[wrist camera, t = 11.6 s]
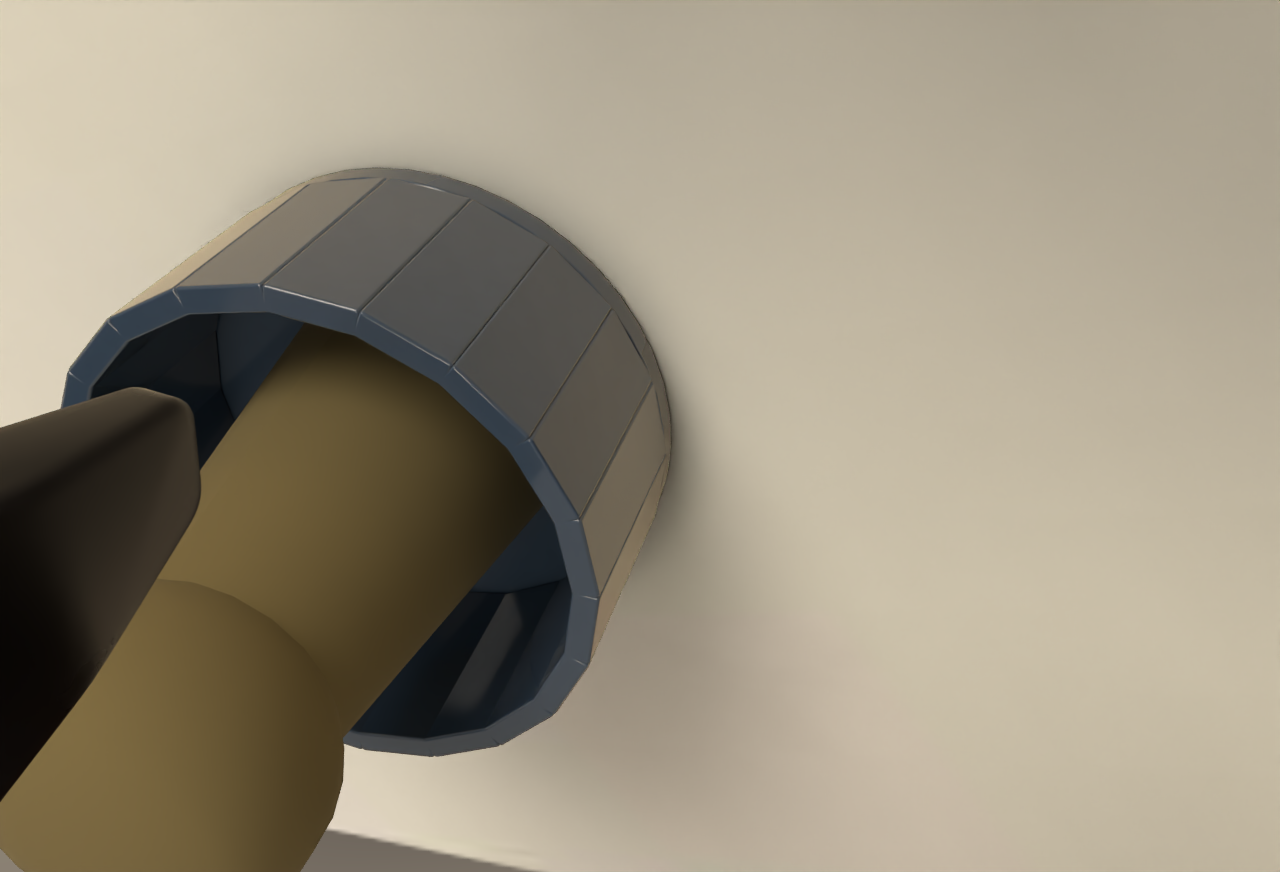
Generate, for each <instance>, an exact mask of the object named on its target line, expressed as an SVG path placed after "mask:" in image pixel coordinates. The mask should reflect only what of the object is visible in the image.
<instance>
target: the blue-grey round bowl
mask: <svg viewBox="0 0 1280 872" xmlns="http://www.w3.org/2000/svg"><path fill="white" fill-rule="evenodd" d="M304 323H308V324H312V325H316V326H319V327H323V328H327V329H330V330H334V331H337V332H341V333H345V334H348V335H352V336H355V337H357V338H359V339H360V340H362V341H364V342H366V343H367V344H369V345H371V346H373V347H374V348H376V349H378V350H380V351H381V352H383V353H385V354H387V355H388V356H390V357H392V358H394V359H395V360H397V361H399V362H401V363H402V364H404V365H406V366H408V367H409V368H411V369H413V370H415V371H416V372H418V373H420V374H422V375H423V376H425V377H427V378H429V379H430V380H432V381H434V382H436V383H437V384H439V385H440V386H441V387H442V388H443V389H444V390H445V391H446V392H447V393H449V394H450V395H451V396H452V397H453V398H454V399H455V400H456V401H457V402H458V403H459V404H460V405H461V406H462V407H463V408H464V409H465V410H467V411H468V412H469V413H470V414H471V415H472V416H473V417H474V418H475V419H476V420H477V421H478V422H479V423H480V424H481V425H482V426H483V427H484V428H486V429H487V430H488V431H489V432H490V433H491V434H492V435H493V436H494V437H495V438H496V439H497V440H498V441H499V442H500V443H501V444H502V445H504V446H505V447H506V448H507V449H508V450H509V452H510V454H511V455H512V457H513V458H514V460H515V462H516V463H517V465H518V466H519V468H520V470H521V471H522V473H523V474H524V476H525V478H526V479H527V481H528V482H529V484H530V486H531V487H532V489H533V490H534V492H535V494H536V495H537V497H538V498H539V500H540V502H541V503H542V505H543V506H542V507H541V508H540V510H539V511H538V512H537V513H536V514H535V515H534V517H533V518H532V519H531V520H530V521H529V522H528V524H527V525H526V526H525V527H524V528H523V529H522V530H521V532H520V533H519V534H518V535H517V536H516V537H515V539H514V540H513V541H512V542H511V543H510V544H509V546H508V547H507V548H506V549H505V550H504V551H503V553H502V554H501V555H500V556H499V557H498V558H497V560H496V561H495V562H494V563H493V564H492V565H491V567H490V568H489V569H488V570H487V571H486V572H485V574H484V575H483V576H482V577H481V578H480V579H479V581H478V582H477V583H476V584H475V585H474V586H473V587H472V589H471V590H470V591H469V592H468V593H467V594H466V596H465V597H464V598H463V599H462V600H461V601H460V603H459V604H458V605H457V606H456V607H455V608H454V610H453V611H452V612H451V613H450V614H449V615H448V617H447V618H446V619H445V620H444V621H443V622H442V624H441V625H440V626H439V627H438V628H437V629H436V631H435V632H434V633H433V634H432V635H431V636H430V638H429V639H428V640H427V641H426V642H425V643H424V644H423V646H422V647H421V648H420V649H419V650H418V651H417V653H416V654H415V655H414V656H413V657H412V658H411V660H410V661H409V662H408V663H407V664H406V665H405V667H404V668H403V669H402V670H401V671H400V672H399V674H398V675H397V676H396V677H395V678H394V679H393V681H392V682H391V683H390V684H389V685H388V686H387V688H386V689H385V690H384V691H383V692H382V693H381V695H380V696H379V697H378V698H377V699H376V700H375V701H374V703H373V704H372V705H371V706H370V707H369V708H368V710H367V711H366V712H365V713H364V714H363V715H362V717H361V718H360V719H359V720H358V721H357V722H356V724H355V725H354V726H353V727H352V728H351V729H350V731H349V732H348V733H347V734H346V735H345V736H344V738H343V743H344V744H347V745H350V746H353V747H356V748H359V749H362V748H363V749H364V750H370V751H380V752H390V753H400V754H409V755H419V756H429V757H433V756H436V757H438V756H444V755H450V754H456V753H461V752H467V751H473V750H479V749H485V748H491V747H497V746H499V745H503V744H504V743H506V742H508V741H510V740H511V739H513V738H515V737H517V736H518V735H520V734H522V733H524V732H525V731H527V730H529V729H531V728H532V727H534V726H536V725H538V724H539V723H541V722H543V721H545V720H546V719H548V718H550V717H551V716H553V715H554V714H555V713H556V712H557V711H558V710H559V708H560V707H561V705H562V704H563V702H564V701H565V700H566V698H567V697H568V695H569V694H570V692H571V691H572V690H573V688H574V687H575V685H576V684H577V682H578V681H579V680H580V678H581V677H582V675H583V674H584V672H585V671H586V670H587V668H588V667H589V665H590V663H591V660H592V658H593V656H594V654H595V651H596V649H597V647H598V645H599V642H600V640H601V638H602V635H603V633H604V631H605V629H606V626H607V624H608V622H609V620H610V617H611V615H612V613H613V611H614V608H615V606H616V604H617V602H618V599H619V597H620V595H621V593H622V590H623V588H624V586H625V583H626V581H627V579H628V577H629V574H630V572H631V570H632V568H633V565H634V563H635V561H636V559H637V556H638V554H639V552H640V550H641V547H642V545H643V543H644V541H645V538H646V536H647V534H648V531H649V529H650V527H651V525H652V522H653V520H654V517H655V515H656V511H657V505H658V501H659V499H660V497H661V495H662V492H663V488H664V484H665V481H666V477H667V473H668V469H669V460H670V451H671V426H670V412H669V407H668V402H667V397H666V392H665V387H664V383H663V380H662V377H661V374H660V371H659V368H658V365H657V362H656V360H655V357H654V354H653V352H652V350H651V348H650V346H649V344H648V342H647V339H646V337H645V335H644V333H643V331H642V329H641V327H640V325H639V323H638V322H637V320H636V319H635V317H634V316H633V314H632V313H631V311H630V310H629V308H628V307H627V305H626V304H625V302H624V301H623V299H622V298H621V296H620V295H619V293H618V292H617V291H616V290H615V289H614V287H613V286H612V285H611V284H610V283H609V281H608V280H607V279H606V278H605V277H604V276H603V274H602V273H601V272H600V271H599V270H598V268H597V267H596V266H595V265H594V264H593V263H592V262H591V261H589V260H588V259H587V258H586V257H585V256H584V255H583V254H582V253H581V252H580V251H579V250H578V249H577V248H576V247H575V246H574V245H573V244H572V243H571V242H569V241H568V240H567V239H565V238H564V237H563V236H561V235H560V234H559V233H557V232H556V231H555V230H553V229H552V228H551V227H550V226H548V225H547V224H546V223H544V222H543V221H542V220H540V219H538V218H537V217H535V216H533V215H532V214H530V213H528V212H527V211H525V210H523V209H522V208H520V207H518V206H517V205H515V204H513V203H512V202H510V201H508V200H506V199H503V198H501V197H499V196H497V195H495V194H492V193H490V192H488V191H486V190H483V189H481V188H479V187H477V186H474V185H471V184H468V183H464V182H461V181H458V180H455V179H452V178H449V177H445V176H442V175H436V174H431V173H426V172H420V171H415V170H409V169H391V168H366V169H355V170H344V171H340V172H336V173H332V174H328V175H324V176H320V177H316V178H313V179H311V180H308V181H306V182H304V183H301V184H299V185H297V186H294V187H292V188H290V189H288V190H287V191H285V192H283V193H282V194H280V195H279V196H277V197H276V198H274V199H273V200H271V201H270V202H268V203H267V204H265V205H263V206H261V207H259V208H257V209H255V210H253V211H251V212H249V213H248V214H247V215H245V216H244V217H243V218H241V219H240V220H239V221H237V222H236V223H235V224H233V225H232V226H231V227H229V228H228V229H227V230H225V231H224V232H223V233H221V234H220V235H219V236H217V237H216V238H215V239H213V240H212V241H211V242H209V243H208V244H207V245H205V246H204V247H203V248H201V249H200V250H198V251H197V252H196V253H194V254H193V255H192V256H190V257H189V258H188V259H186V260H185V261H184V262H182V263H181V264H180V265H178V266H177V267H176V268H174V269H173V270H172V271H170V272H169V273H168V274H166V275H165V276H164V277H162V278H161V279H160V280H158V281H157V282H156V283H154V284H153V285H152V286H150V287H149V288H148V289H146V290H145V291H143V292H142V293H141V294H139V295H138V296H137V297H135V298H134V299H133V300H131V301H130V302H129V303H127V304H126V305H125V306H123V307H122V308H121V309H119V310H118V311H117V312H115V313H114V314H113V315H111V316H110V317H109V318H108V319H106V321H105V322H104V323H103V325H102V326H101V327H100V328H99V330H98V331H97V332H96V334H95V335H94V336H93V338H92V339H91V340H90V341H89V343H88V344H87V345H86V347H85V348H84V349H83V351H82V352H81V353H80V355H79V356H78V357H77V358H76V360H75V361H74V362H73V364H72V365H71V366H70V368H69V371H68V373H67V377H66V382H65V388H64V393H63V399H62V404H61V409H62V408H65V407H68V406H72V405H75V404H78V403H81V402H84V401H88V400H91V399H94V398H97V397H100V396H103V395H107V394H110V393H113V392H116V391H119V390H122V389H126V388H130V387H140V388H146V389H149V390H153V391H156V392H160V393H163V394H166V395H170V396H173V397H177V398H180V399H182V400H183V401H184V402H186V403H187V404H188V405H189V406H190V408H191V410H192V412H193V416H194V421H195V430H196V439H197V448H198V458H199V467H200V470H201V468H202V467H203V466H204V464H205V463H206V461H207V460H208V459H209V457H210V456H211V454H212V453H213V451H214V450H215V449H216V447H217V446H218V444H219V443H220V442H221V440H222V439H223V437H224V436H225V435H226V433H227V432H228V430H229V429H230V427H231V426H232V425H233V423H234V422H235V420H236V419H237V418H238V416H239V415H240V413H241V412H242V410H243V409H244V408H245V406H246V405H247V403H248V402H249V401H250V399H251V398H252V396H253V395H254V394H255V392H256V391H257V389H258V388H259V386H260V385H261V384H262V382H263V381H264V379H265V378H266V377H267V375H268V374H269V372H270V371H271V370H272V368H273V367H274V365H275V364H276V362H277V361H278V360H279V358H280V357H281V355H282V354H283V353H284V351H285V350H286V348H287V347H288V346H289V344H290V343H291V341H292V340H293V338H294V337H295V336H296V334H297V333H298V331H299V330H300V329H301V327H302V326H303V324H304Z"/></svg>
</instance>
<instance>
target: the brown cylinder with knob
mask: <svg viewBox="0 0 1280 872" xmlns="http://www.w3.org/2000/svg"><path fill="white" fill-rule="evenodd" d="M200 476H201V497H200V502H199V506H198V509H197V511H196V514H195V516H194V518H193V520H192V522H191V524H190V525H189V527H188V529H187V530H186V532H185V533H184V535H183V537H182V538H181V540H180V542H179V543H178V545H177V546H176V548H175V550H174V551H173V553H172V555H171V556H170V558H169V560H168V561H167V563H166V564H165V566H164V568H163V569H162V571H161V573H160V574H159V576H158V577H157V579H156V581H155V582H154V584H153V586H152V587H151V589H150V590H149V592H148V594H147V595H146V597H145V599H144V600H143V602H142V604H141V605H140V607H139V608H138V610H137V612H136V613H135V615H134V617H133V618H132V620H131V621H130V623H129V625H128V626H127V628H126V630H125V631H124V633H123V634H122V636H121V638H120V639H119V641H118V643H117V644H116V646H115V648H114V649H113V651H112V652H111V654H110V656H109V657H108V659H107V660H106V662H105V663H104V665H103V666H102V668H101V669H100V671H99V672H98V674H97V675H96V677H95V678H94V680H93V681H92V683H91V684H90V686H89V687H88V688H87V690H86V691H85V692H84V694H83V695H82V697H81V698H80V699H79V701H78V702H77V703H76V705H75V706H74V707H73V709H72V710H71V711H70V713H69V714H68V715H67V717H66V718H65V719H64V720H63V722H62V723H61V724H60V726H59V727H58V728H57V729H56V731H55V732H54V733H53V735H52V736H51V737H50V739H49V740H48V741H47V742H46V744H45V745H44V746H43V748H42V749H41V750H40V751H39V753H38V754H37V755H36V757H35V758H34V759H33V760H32V762H31V763H30V764H29V766H28V767H27V768H26V770H25V771H24V772H23V773H22V775H21V776H20V777H19V779H18V780H17V781H16V782H15V784H14V785H13V786H12V788H11V789H10V790H9V791H8V793H7V794H6V795H5V797H4V798H3V799H2V801H1V802H0V849H1V850H3V852H4V853H5V854H6V855H7V856H8V857H9V858H10V859H11V860H12V861H13V862H14V863H15V864H16V865H17V866H18V867H19V868H20V869H22V870H23V871H24V872H300V871H301V869H302V868H303V867H304V865H305V863H306V862H307V860H308V859H309V857H310V855H311V854H312V853H313V851H314V849H315V848H316V846H317V844H318V842H319V841H320V839H321V837H322V835H323V834H324V832H325V830H326V829H327V827H328V825H329V823H330V822H331V820H332V818H333V815H334V812H335V808H336V804H337V801H338V797H339V794H340V790H341V786H342V783H343V768H344V744H343V738H344V736H345V735H346V734H347V733H348V732H349V731H350V729H351V728H352V727H353V726H354V725H355V724H356V722H357V721H358V720H359V719H360V718H361V717H362V715H363V714H364V713H365V712H366V711H367V710H368V708H369V707H370V706H371V705H372V704H373V703H374V701H375V700H376V699H377V698H378V697H379V696H380V695H381V693H382V692H383V691H384V690H385V689H386V688H387V686H388V685H389V684H390V683H391V682H392V681H393V679H394V678H395V677H396V676H397V675H398V674H399V672H400V671H401V670H402V669H403V668H404V667H405V665H406V664H407V663H408V662H409V661H410V660H411V658H412V657H413V656H414V655H415V654H416V653H417V651H418V650H419V649H420V648H421V647H422V646H423V644H424V643H425V642H426V641H427V640H428V639H429V638H430V636H431V635H432V634H433V633H434V632H435V631H436V629H437V628H438V627H439V626H440V625H441V624H442V622H443V621H444V620H445V619H446V618H447V617H448V615H449V614H450V613H451V612H452V611H453V610H454V608H455V607H456V606H457V605H458V604H459V603H460V601H461V600H462V599H463V598H464V597H465V596H466V594H467V593H468V592H469V591H470V590H471V589H472V587H473V586H474V585H475V584H476V583H477V582H478V581H479V579H480V578H481V577H482V576H483V575H484V574H485V572H486V571H487V570H488V569H489V568H490V567H491V565H492V564H493V563H494V562H495V561H496V560H497V558H498V557H499V556H500V555H501V554H502V553H503V551H504V550H505V549H506V548H507V547H508V546H509V544H510V543H511V542H512V541H513V540H514V539H515V537H516V536H517V535H518V534H519V533H520V532H521V530H522V529H523V528H524V527H525V526H526V525H527V524H528V522H529V521H530V520H531V519H532V518H533V517H534V515H535V514H536V513H537V512H538V511H539V510H540V508H541V507H542V506H543V505H542V503H541V502H540V500H539V498H538V497H537V495H536V494H535V492H534V490H533V489H532V487H531V486H530V484H529V482H528V481H527V479H526V478H525V476H524V474H523V473H522V471H521V470H520V468H519V466H518V465H517V463H516V462H515V460H514V458H513V457H512V455H511V454H510V452H509V450H508V449H507V448H506V447H505V446H504V445H502V444H501V443H500V442H499V441H498V440H497V439H496V438H495V437H494V436H493V435H492V434H491V433H490V432H489V431H488V430H487V429H486V428H484V427H483V426H482V425H481V424H480V423H479V422H478V421H477V420H476V419H475V418H474V417H473V416H472V415H471V414H470V413H469V412H468V411H467V410H465V409H464V408H463V407H462V406H461V405H460V404H459V403H458V402H457V401H456V400H455V399H454V398H453V397H452V396H451V395H450V394H449V393H447V392H446V391H445V390H444V389H443V388H442V387H441V386H440V385H439V384H437V383H436V382H434V381H432V380H430V379H429V378H427V377H425V376H423V375H422V374H420V373H418V372H416V371H415V370H413V369H411V368H409V367H408V366H406V365H404V364H402V363H401V362H399V361H397V360H395V359H394V358H392V357H390V356H388V355H387V354H385V353H383V352H381V351H380V350H378V349H376V348H374V347H373V346H371V345H369V344H367V343H366V342H364V341H362V340H360V339H359V338H357V337H355V336H352V335H348V334H345V333H341V332H337V331H334V330H330V329H327V328H323V327H319V326H316V325H312V324H308V323H304V324H303V326H302V327H301V329H300V330H299V331H298V333H297V334H296V336H295V337H294V338H293V340H292V341H291V343H290V344H289V346H288V347H287V348H286V350H285V351H284V353H283V354H282V355H281V357H280V358H279V360H278V361H277V362H276V364H275V365H274V367H273V368H272V370H271V371H270V372H269V374H268V375H267V377H266V378H265V379H264V381H263V382H262V384H261V385H260V386H259V388H258V389H257V391H256V392H255V394H254V395H253V396H252V398H251V399H250V401H249V402H248V403H247V405H246V406H245V408H244V409H243V410H242V412H241V413H240V415H239V416H238V418H237V419H236V420H235V422H234V423H233V425H232V426H231V427H230V429H229V430H228V432H227V433H226V435H225V436H224V437H223V439H222V440H221V442H220V443H219V444H218V446H217V447H216V449H215V450H214V451H213V453H212V454H211V456H210V457H209V459H208V460H207V461H206V463H205V464H204V466H203V467H202V468H201V470H200Z"/></svg>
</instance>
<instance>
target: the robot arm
mask: <svg viewBox="0 0 1280 872" xmlns="http://www.w3.org/2000/svg"><path fill="white" fill-rule="evenodd" d="M200 497H201V476H200V467H199V458H198V448H197V439H196V430H195V421H194V416H193V412H192V410H191V408H190V406H189V405H188V404H187V403H186V402H184V401H183V400H182V399H180V398H177V397H173V396H170V395H166V394H163V393H160V392H156V391H153V390H149V389H146V388H140V387H130V388H126V389H122V390H119V391H116V392H113V393H110V394H107V395H103V396H100V397H97V398H94V399H91V400H88V401H84V402H81V403H78V404H75V405H72V406H68V407H65V408H62V409H59V410H56V411H53V412H49V413H46V414H43V415H40V416H37V417H33V418H30V419H27V420H24V421H21V422H18V423H14V424H11V425H8V426H5V427H2V428H0V802H1V801H2V799H3V798H4V797H5V795H6V794H7V793H8V791H9V790H10V789H11V788H12V786H13V785H14V784H15V782H16V781H17V780H18V779H19V777H20V776H21V775H22V773H23V772H24V771H25V770H26V768H27V767H28V766H29V764H30V763H31V762H32V760H33V759H34V758H35V757H36V755H37V754H38V753H39V751H40V750H41V749H42V748H43V746H44V745H45V744H46V742H47V741H48V740H49V739H50V737H51V736H52V735H53V733H54V732H55V731H56V729H57V728H58V727H59V726H60V724H61V723H62V722H63V720H64V719H65V718H66V717H67V715H68V714H69V713H70V711H71V710H72V709H73V707H74V706H75V705H76V703H77V702H78V701H79V699H80V698H81V697H82V695H83V694H84V692H85V691H86V690H87V688H88V687H89V686H90V684H91V683H92V681H93V680H94V678H95V677H96V675H97V674H98V672H99V671H100V669H101V668H102V666H103V665H104V663H105V662H106V660H107V659H108V657H109V656H110V654H111V652H112V651H113V649H114V648H115V646H116V644H117V643H118V641H119V639H120V638H121V636H122V634H123V633H124V631H125V630H126V628H127V626H128V625H129V623H130V621H131V620H132V618H133V617H134V615H135V613H136V612H137V610H138V608H139V607H140V605H141V604H142V602H143V600H144V599H145V597H146V595H147V594H148V592H149V590H150V589H151V587H152V586H153V584H154V582H155V581H156V579H157V577H158V576H159V574H160V573H161V571H162V569H163V568H164V566H165V564H166V563H167V561H168V560H169V558H170V556H171V555H172V553H173V551H174V550H175V548H176V546H177V545H178V543H179V542H180V540H181V538H182V537H183V535H184V533H185V532H186V530H187V529H188V527H189V525H190V524H191V522H192V520H193V518H194V516H195V514H196V511H197V509H198V506H199V502H200Z"/></svg>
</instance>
